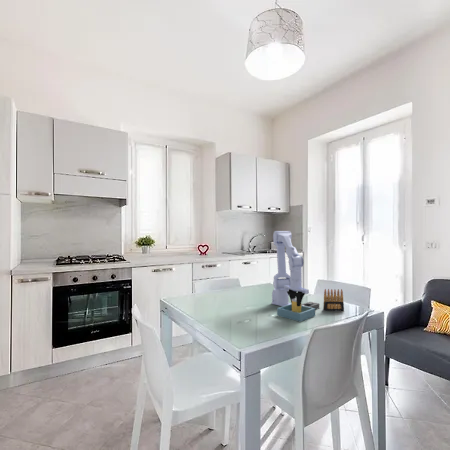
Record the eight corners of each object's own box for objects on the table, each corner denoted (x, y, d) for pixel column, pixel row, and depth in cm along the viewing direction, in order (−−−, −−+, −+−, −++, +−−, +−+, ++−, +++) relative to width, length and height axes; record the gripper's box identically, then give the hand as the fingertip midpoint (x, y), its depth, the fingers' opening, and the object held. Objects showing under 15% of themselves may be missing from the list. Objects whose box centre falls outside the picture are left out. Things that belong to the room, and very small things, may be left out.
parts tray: (277, 315, 151) (277, 308, 151) (292, 310, 161) (292, 303, 161) (300, 321, 141) (300, 313, 141) (315, 315, 150) (315, 308, 150)
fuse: (291, 312, 151) (291, 298, 151) (296, 311, 153) (296, 297, 154) (296, 313, 149) (296, 300, 149) (301, 312, 151) (301, 298, 151)
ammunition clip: (324, 310, 159) (323, 289, 160) (323, 309, 161) (323, 288, 161) (344, 311, 158) (343, 289, 159) (343, 310, 160) (342, 288, 160)
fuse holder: (296, 310, 160) (296, 305, 160) (309, 305, 169) (309, 300, 169) (306, 312, 156) (306, 307, 156) (319, 307, 165) (319, 302, 165)
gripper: (312, 280, 148) (312, 306, 147) (290, 276, 159) (290, 301, 159) (303, 281, 143) (303, 309, 143) (281, 277, 155) (281, 303, 155)
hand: (296, 305), depth 151 cm, fingers closed on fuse, 3 cm apart
